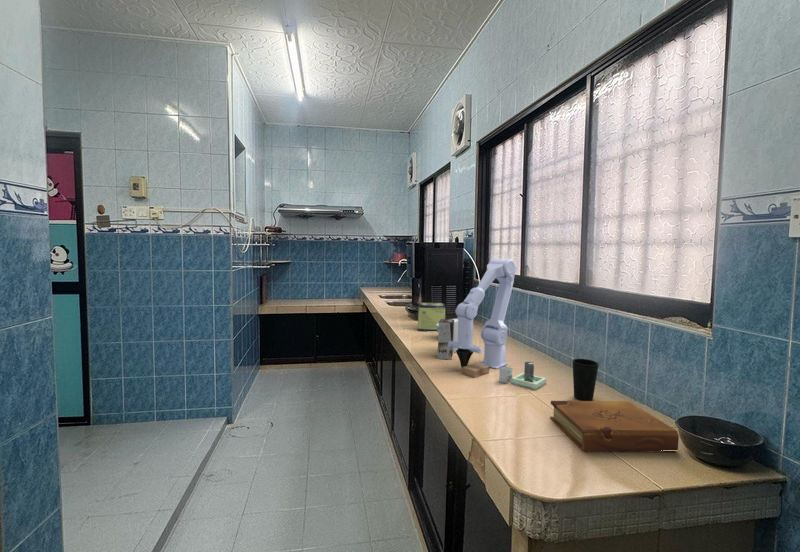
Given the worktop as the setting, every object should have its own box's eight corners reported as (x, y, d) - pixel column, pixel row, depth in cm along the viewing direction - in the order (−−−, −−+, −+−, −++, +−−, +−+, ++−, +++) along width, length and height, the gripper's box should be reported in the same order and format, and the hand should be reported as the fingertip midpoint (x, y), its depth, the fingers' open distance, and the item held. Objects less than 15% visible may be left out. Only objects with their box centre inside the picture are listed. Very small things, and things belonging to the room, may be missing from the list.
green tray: (522, 377, 145) (522, 372, 145) (546, 383, 139) (546, 378, 139) (511, 383, 139) (511, 378, 138) (535, 390, 133) (536, 384, 132)
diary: (583, 455, 92) (584, 431, 91) (549, 420, 110) (550, 400, 110) (677, 454, 93) (679, 431, 92) (628, 420, 111) (629, 400, 111)
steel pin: (526, 380, 141) (527, 361, 141) (534, 382, 139) (535, 363, 138) (522, 382, 139) (523, 362, 138) (530, 384, 136) (531, 364, 136)
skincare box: (457, 348, 187) (459, 318, 186) (465, 351, 181) (466, 320, 180) (443, 350, 183) (444, 319, 182) (450, 353, 178) (451, 321, 176)
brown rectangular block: (476, 370, 154) (476, 362, 154) (488, 374, 150) (489, 366, 150) (461, 374, 148) (462, 367, 148) (474, 379, 144) (474, 371, 144)
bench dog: (504, 379, 143) (504, 366, 143) (511, 381, 141) (512, 367, 141) (499, 381, 140) (499, 368, 140) (506, 383, 138) (507, 370, 138)
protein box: (445, 332, 224) (445, 305, 223) (418, 331, 224) (418, 304, 223) (443, 328, 234) (444, 303, 233) (417, 327, 234) (418, 302, 233)
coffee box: (452, 360, 167) (453, 322, 166) (437, 358, 168) (438, 321, 167) (453, 354, 176) (454, 319, 175) (439, 353, 177) (440, 318, 176)
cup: (585, 404, 121) (588, 366, 121) (565, 395, 128) (567, 360, 127) (601, 400, 125) (603, 363, 124) (580, 392, 132) (583, 357, 131)
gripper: (444, 332, 154) (443, 365, 154) (476, 338, 144) (474, 374, 145) (454, 329, 159) (453, 362, 160) (485, 335, 149) (484, 370, 150)
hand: (464, 367), depth 152 cm, fingers closed
